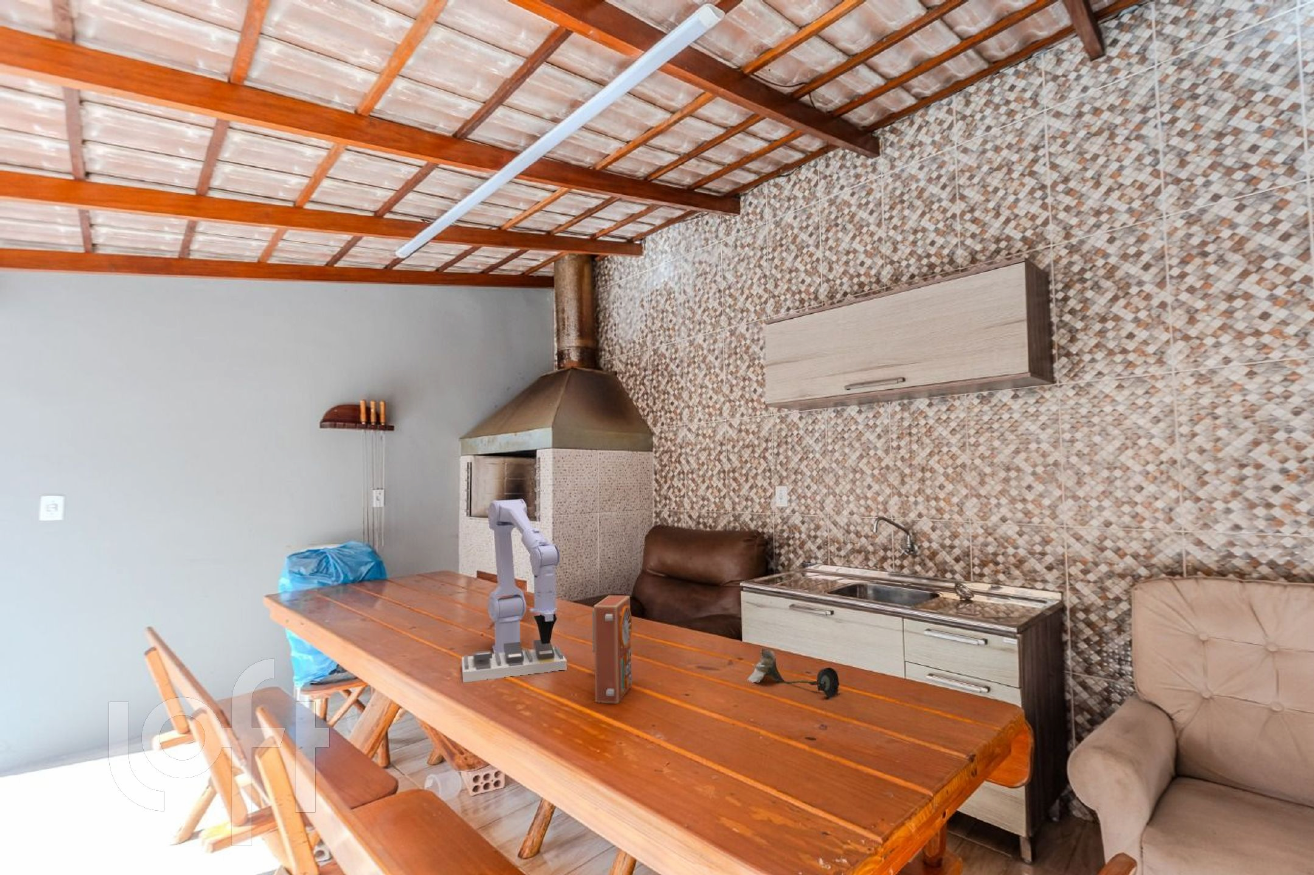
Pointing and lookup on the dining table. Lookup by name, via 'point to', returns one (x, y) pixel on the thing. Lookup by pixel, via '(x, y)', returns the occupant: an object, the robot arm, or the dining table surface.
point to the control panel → (612, 648)
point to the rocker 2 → (543, 650)
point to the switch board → (510, 666)
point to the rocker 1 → (482, 655)
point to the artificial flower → (825, 681)
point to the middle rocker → (513, 652)
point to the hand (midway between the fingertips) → (545, 643)
